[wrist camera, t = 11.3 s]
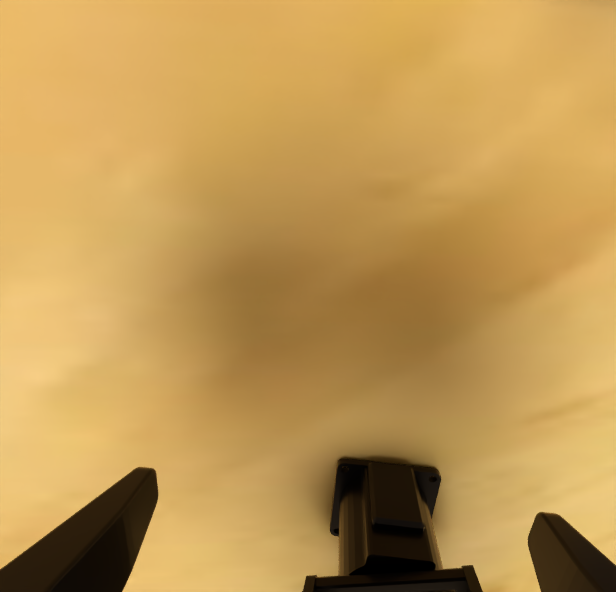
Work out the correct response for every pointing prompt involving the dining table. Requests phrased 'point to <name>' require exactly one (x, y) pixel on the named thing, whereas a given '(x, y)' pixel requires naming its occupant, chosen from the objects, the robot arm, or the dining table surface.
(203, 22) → the dining table surface
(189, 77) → the dining table surface
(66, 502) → the dining table surface
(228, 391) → the dining table surface
